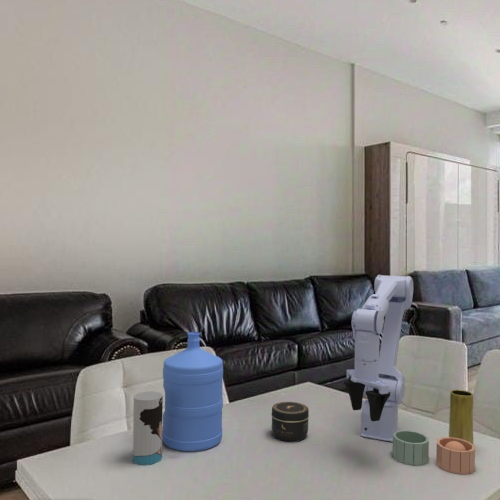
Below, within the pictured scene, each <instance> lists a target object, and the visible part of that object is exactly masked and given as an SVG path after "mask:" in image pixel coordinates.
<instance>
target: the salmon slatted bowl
mask: <svg viewBox="0 0 500 500" xmlns="http://www.w3.org/2000/svg"><path fill="white" fill-rule="evenodd" d="M451 441H457V442H459V443H461V444H462V445H463V446H464V447H465V449H466V451H457V450H451V449H448V448H446V447H445V445H446V444H447V443H448V442H451ZM435 452H436V456H435V457H436V459H435V460H436V461H435V463H436V465H437V466H438V468H440V469H441V470H443V471H446V472H448V473H449V472H450V473H452V474H457V475H466V474H467V475H470V474H471V473H473V472H475V471H476V470H475V469H476V468H475V467H476V463H475V462H476V461H475V460H476V454H475V453H476V446H475V444H474V443H473V444H472V443H470V442H468V441H465V440H463V439H459V438H453V437H449V436H445V437H440V438H437V439H436V451H435Z"/></svg>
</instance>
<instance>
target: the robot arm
mask: <svg viewBox="0 0 500 500" xmlns="http://www.w3.org/2000/svg"><path fill="white" fill-rule="evenodd" d="M373 288H374V293H375V294H374V293H373V294H371V295H370V296H368V298H367V299H366V301H365V302H364V304H363V306H362V307H361V308H357V309H356V310H354V311H353V313H352V314H351V315H352V316H351V329H352V338H353V340H354V369H346V378H348V379H347V380H344V381H343V384H344V386H345V388H346V390H347V393H348V394H349V395H348V396H349V400H350V404H351V408H352V410H353V411H360V412H361V414H360V417H361V419H360V421H361V422H360V437H363V438H369V439H373V440H380V441H385V442H386V441H387V442H391V443H393V434H394V432H396V431H400V429H398V424H399V423H398V419H399V417H398V414H399V405H401V404H402V403H403V402H404V399H405V394H406V391H405V390H406V387H405V383H406V379H405V376H404V374H403V373H402V372H401V371H400V370H399V369H398V368H397V362H398V361H397V360H398V356H399V355H398V354H399V348H400V347H399V346H400V340H401V331H402V323H403V318H404V314H405V311H406V310H408V309H410V308H411V306H412V302H413V295H414V280H413V278H412V277H411V276H410V275H407V276H402V275H382V274H378V275H377V276H375V279H374V287H373ZM381 333H382V335H381ZM380 335H381V342H380ZM380 343H381V344H380ZM364 396H365V398H366V399H363V397H364Z"/></svg>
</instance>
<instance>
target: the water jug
mask: <svg viewBox="0 0 500 500" xmlns="http://www.w3.org/2000/svg"><path fill="white" fill-rule="evenodd" d="M200 335H201V334H200V332H197V331H190V332H187V347H186V348H185V349H183V350H181V351H178V352H177V353H175V354H173V355H171V356H168V357H167V358H165V360H163V367H162V380H163V382H162V383H163V385H162V387H163V390H164V412H162V443H164V445H166V447H168V448H170V449H173V450H176V451H180V452H199V451H204V450H207V449H212V448H213V447H215V446H217V445H218V444H219V443H220V442H221V441H222V438H223V408H224V407H223V406H224V404H223V403H224V397H223V377H224V365H223V362H224V360H223V359H222V358H221V357H220V356H217V355H215V354H213V353H211V352H210V351H209V352H208V351H206V350H204V349H203V348H201V346H200V341H201V340H200Z"/></svg>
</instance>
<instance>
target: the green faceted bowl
mask: <svg viewBox="0 0 500 500" xmlns="http://www.w3.org/2000/svg"><path fill="white" fill-rule="evenodd" d="M399 430H400V429H399ZM392 457H393V458H394V459H395V460H396V461H398V462H400V463H402V464H404V465H405V464H406V465H411V466H424V465H426V464H428V463H429V458H430V437H428V436H427V435H426V434H424V433H422V432H419V431H416V430H415V431H414V430H407V429H403V430H402V429H401V430H400V431H396V432H394V434H393V442H392Z"/></svg>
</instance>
